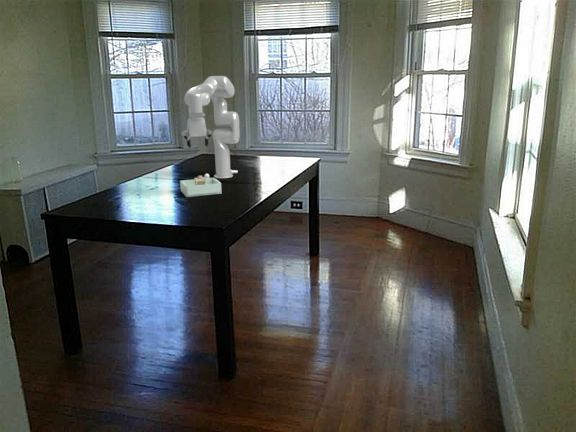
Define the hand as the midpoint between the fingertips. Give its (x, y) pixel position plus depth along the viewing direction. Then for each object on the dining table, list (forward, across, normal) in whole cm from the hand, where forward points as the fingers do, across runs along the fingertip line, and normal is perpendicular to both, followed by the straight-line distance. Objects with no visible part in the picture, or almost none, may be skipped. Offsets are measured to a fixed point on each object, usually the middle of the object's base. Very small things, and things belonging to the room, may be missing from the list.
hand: (198, 146), depth 294 cm
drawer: (+25, 0, +1) cm, 25 cm away
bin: (+26, 0, +1) cm, 26 cm away
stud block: (+26, -8, -17) cm, 32 cm away
